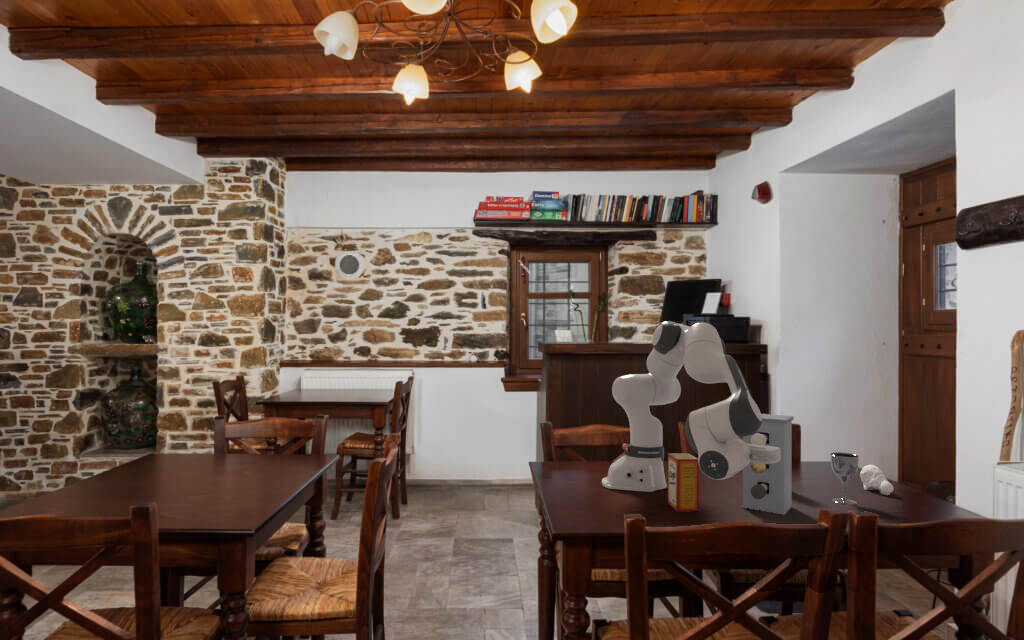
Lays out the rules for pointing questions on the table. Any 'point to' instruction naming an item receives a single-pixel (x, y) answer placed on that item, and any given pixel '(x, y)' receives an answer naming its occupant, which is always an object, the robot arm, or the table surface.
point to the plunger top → (759, 439)
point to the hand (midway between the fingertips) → (746, 446)
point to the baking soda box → (683, 482)
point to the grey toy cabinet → (772, 468)
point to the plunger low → (759, 490)
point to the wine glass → (844, 472)
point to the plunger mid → (758, 467)
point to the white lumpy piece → (875, 479)
